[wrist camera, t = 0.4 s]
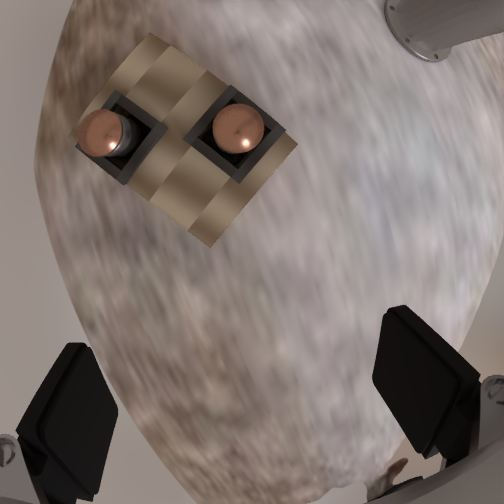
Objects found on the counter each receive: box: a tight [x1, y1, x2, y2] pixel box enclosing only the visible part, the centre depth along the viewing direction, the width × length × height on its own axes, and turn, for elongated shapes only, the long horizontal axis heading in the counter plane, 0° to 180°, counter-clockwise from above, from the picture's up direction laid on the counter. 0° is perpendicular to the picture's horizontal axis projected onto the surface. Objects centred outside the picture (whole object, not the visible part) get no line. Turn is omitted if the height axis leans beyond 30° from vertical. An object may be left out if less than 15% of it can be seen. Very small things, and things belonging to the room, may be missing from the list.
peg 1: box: [78, 109, 141, 157], centre depth 24 cm, size 4×4×7 cm
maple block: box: [68, 33, 298, 248], centre depth 29 cm, size 14×20×6 cm
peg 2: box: [213, 104, 264, 154], centre depth 25 cm, size 4×4×7 cm
